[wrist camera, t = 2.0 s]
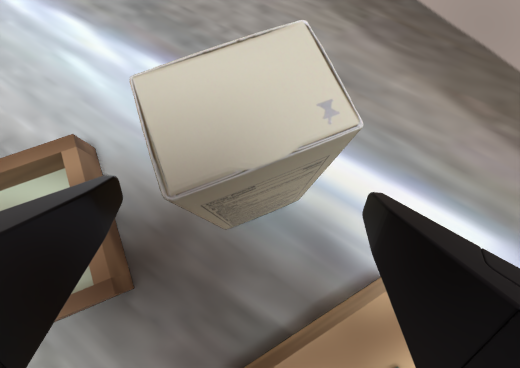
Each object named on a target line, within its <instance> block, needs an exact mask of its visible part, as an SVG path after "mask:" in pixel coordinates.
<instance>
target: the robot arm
mask: <svg viewBox="0 0 520 368" xmlns="http://www.w3.org/2000/svg"><path fill="white" fill-rule="evenodd" d="M122 201H123V195H122V191H121V187H120V183H119V180H118V178H117V177H116V176H107V175H104V176H101V177H98V178H95V179H92V180H89V181H86V182H83V183H80V184H77V185H74V186H72V187H69V188H66V189H63V190H60V191H57V192H54V193H51V194H48V195H45V196H42V197H40V198H37V199H34V200H31V201H28V202H25V203H22V204H19V205H16V206H13V207H10V208H8V209H5V210H2V211H0V368H26V367H27V366H28V364H29V362H30V361H31V359H32V357H33V356H34V354H35V352H36V351H37V349H38V348H39V346H40V344H41V343H42V341H43V339H44V338H45V336H46V334H47V333H48V331H49V330H50V328H51V326H52V325H53V323H54V321H55V320H56V318H57V316H58V315H59V313H60V312H61V310H62V308H63V307H64V305H65V303H66V302H67V300H68V298H69V297H70V295H71V294H72V292H73V290H74V289H75V287H76V285H77V284H78V282H79V280H80V279H81V277H82V276H83V274H84V272H85V271H86V269H87V267H88V266H89V264H90V262H91V261H92V259H93V258H94V256H95V254H96V253H97V251H98V249H99V248H100V246H101V244H102V243H103V241H104V239H105V238H106V236H107V234H108V232H109V230H110V227H111V225H112V223H113V221H114V219H115V217H116V214H117V212H118V210H119V208H120V206H121V204H122ZM363 220H364V224H365V228H366V232H367V236H368V240H369V244H370V248H371V252H372V255H373V257H374V260H375V263H376V265H377V268H378V271H379V273H380V276H381V279H382V281H383V284H384V286H385V289H386V292H387V294H388V297H389V299H390V302H391V305H392V307H393V310H394V313H395V315H396V318H397V320H398V323H399V326H400V328H401V331H402V334H403V336H404V339H405V341H406V344H407V347H408V349H409V352H410V355H411V357H412V360H413V362H414V365H415V368H520V268H518V267H516V266H514V265H512V264H511V263H509V262H507V261H505V260H503V259H501V258H499V257H498V256H496V255H494V254H492V253H490V252H488V251H487V250H485V249H481V248H480V247H479V246H477V245H476V244H474V243H472V242H470V241H468V240H467V239H465V238H463V237H461V236H459V235H457V234H456V233H454V232H452V231H450V230H448V229H447V228H445V227H443V226H441V225H439V224H438V223H436V222H434V221H432V220H430V219H428V218H427V217H425V216H423V215H421V214H419V213H418V212H416V211H414V210H412V209H410V208H408V207H407V206H405V205H403V204H401V203H399V202H398V201H396V200H394V199H392V198H390V197H389V196H387V195H385V194H383V193H376V192H371V193H370V194H369V195H368V197H367V200H366V203H365V206H364V209H363Z"/></svg>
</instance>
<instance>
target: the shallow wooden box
mask: <svg viewBox="0 0 520 368" xmlns="http://www.w3.org/2000/svg"><path fill="white" fill-rule="evenodd" d="M244 368H415V365H414V362H413V360H412V357H411V355H410V352H409V349H408V347H407V344H406V341H405V339H404V336H403V334H402V331H401V328H400V326H399V323H398V320H397V318H396V315H395V313H394V310H393V307H392V305H391V302H390V299H389V297H388V294H387V292H386V289H385V286H384V284H383V281H382V279H381V277H380V278H379V279H377V280H376V281H374V282H373V283H371V284H370V285H368V286H367V287H365V288H364V289H362V290H361V291H359V292H358V293H356V294H355V295H353V296H351V297H350V298H348V299H347V300H345V301H344V302H342V303H341V304H339V305H338V306H336V307H335V308H333V309H332V310H330V311H329V312H327V313H326V314H324V315H323V316H321V317H320V318H318V319H317V320H315V321H314V322H312V323H311V324H309V325H308V326H306V327H305V328H303V329H302V330H300V331H299V332H297V333H296V334H294V335H292V336H291V337H289V338H288V339H286V340H285V341H283V342H282V343H280V344H279V345H277V346H276V347H274V348H273V349H271V350H270V351H268V352H267V353H265V354H264V355H262V356H261V357H259V358H258V359H256V360H255V361H253V362H252V363H250V364H249V365H247V366H246V367H244Z"/></svg>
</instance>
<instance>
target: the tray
mask: <svg viewBox="0 0 520 368" xmlns="http://www.w3.org/2000/svg"><path fill="white" fill-rule="evenodd" d="M101 176H103V175H102V172H101V168H100V165H99V161H98V157H97V154H96V150H95V148H94V147H92V146H91V145H89V144H88V143H86V142H85V141H83V140H81V139H80V138H78V137H77V136H75V135H74V134H71V135H68V136H65V137H62V138H59V139H56V140H53V141H51V142H48V143H45V144H42V145H39V146H36V147H33V148H30V149H27V150H24V151H21V152H18V153H15V154H12V155H9V156H6V157H3V158H0V211H2V210H5V209H8V208H10V207H13V206H16V205H19V204H22V203H25V202H28V201H31V200H34V199H37V198H40V197H42V196H45V195H48V194H51V193H54V192H57V191H60V190H63V189H66V188H69V187H72V186H74V185H77V184H80V183H83V182H86V181H89V180H92V179H95V178H98V177H101ZM132 289H134V286H133V282H132V279H131V275H130V271H129V268H128V264H127V261H126V257H125V254H124V250H123V247H122V243H121V239H120V236H119V232H118V229H117V225H116V222H115V219H114V221H113V223H112V225H111V227H110V230H109V232H108V234H107V236H106V238H105V239H104V241H103V243H102V244H101V246H100V248H99V249H98V251H97V253H96V254H95V256H94V258H93V259H92V261H91V262H90V264H89V266H88V267H87V269H86V271H85V272H84V274H83V276H82V277H81V279H80V280H79V282H78V284H77V285H76V287H75V289H74V290H73V292H72V294H71V295H70V297H69V298H68V300H67V302H66V303H65V305H64V307H63V308H62V310H61V312H60V313H59V315H58V316H57V318H56V320H55V321H54V322H56V321H58V320H61V319H63V318H65V317H68V316H70V315H73V314H75V313H77V312H80V311H82V310H84V309H87V308H89V307H91V306H94V305H96V304H98V303H101V302H103V301H106V300H108V299H110V298H113V297H115V296H117V295H120V294H122V293H124V292H127V291H129V290H132Z"/></svg>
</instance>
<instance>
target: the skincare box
mask: <svg viewBox="0 0 520 368" xmlns="http://www.w3.org/2000/svg"><path fill="white" fill-rule="evenodd" d="M130 85H131V88H132V91H133V95H134V99H135V103H136V107H137V111H138V114H139V118H140V123H141V126H142V130H143V133H144V137H145V140H146V144H147V147H148V150H149V155H150V158H151V162H152V165H153V168H154V171H155V174H156V178H157V181H158V184H159V188H160V191H161V193H162V196H163V198H164V199H166V200H167V201H169V202H171V203H173V204H175V205H177V206H179V207H181V208H183V209H186V210H188V211H189V212H191V213H193V214H195V215H197V216H199V217H201V218H203V219H205V220H207V221H209V222H211V223H213V224H215V225H217V226H219V227H221V228H223V229H229V228H232V227H234V226H237V225H240V224H243V223H245V222H248V221H250V220H253V219H255V218H258V217H260V216H263V215H265V214H268V213H270V212H272V211H275V210H277V209H280V208H282V207H284V206H286V205H289V204H291V203H293V202H295V201H297V200H299V199H300V198H301V197H302V196H303V195H304V193H305V192H306V191H307V190H308V189H309V188H310V186H311V185H312V184H313V183H314V182H315V181H316V180H317V179H318V177H319V176H320V175H321V174H322V173H323V172H324V171H325V170H326V168H327V167H328V166H329V165H330V164H331V163H332V162H333V160H334V159H335V158H336V157H337V156H338V155H339V154H340V152H341V151H342V150H343V149H344V148H345V147H346V146H347V145H348V143H349V142H350V141H351V140H352V139H353V138H354V137H355V135H356V134H357V133H358V132H359V131H360V130H361V129H362V127H363V121H362V119H361V118H360V116H359V114H358V112H357V110H356V109H355V107H354V105H353V103H352V100H351V98H350V97H349V95H348V93H347V91H346V89H345V87H344V85H343V83H342V81H341V80H340V78H339V76H338V75H337V72H336V70H335V69H334V67H333V65H332V63H331V61H330V59H329V57H328V56H327V54H326V52H325V50H324V48H323V47H322V45H321V44H320V42H319V40H318V38H317V37H316V36H315V34H314V32H313V31H312V29H311V27H310V25H309V24H308V22H307V21H305V20H299V21H296V22H293V23H290V24H285V25H282V26H278V27H275V28H271V29H268V30H265V31H261V32H258V33H255V34H251V35H249V36H246V37H242V38H239V39H236V40H234V41H231V42H227V43H224V44H221V45H218V46H215V47H212V48H209V49H206V50H203V51H201V52H197V53H195V54H191V55H189V56H186V57H183V58H180V59H177V60H174V61H172V62H169V63H166V64H163V65H160V66H158V67H155V68H153V69H150V70H147V71H144V72H141V73H138V74H135V75H133V76H131V77H130Z"/></svg>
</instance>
